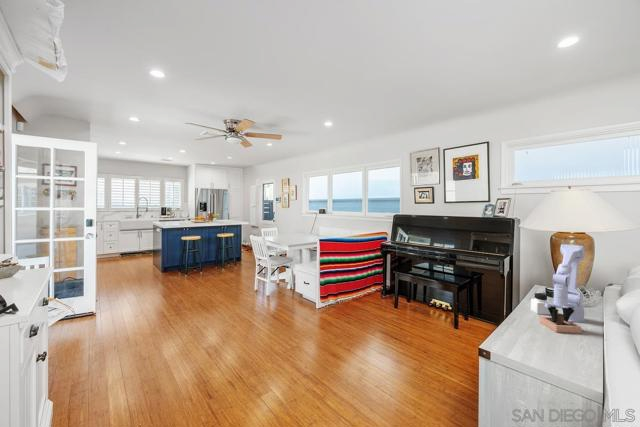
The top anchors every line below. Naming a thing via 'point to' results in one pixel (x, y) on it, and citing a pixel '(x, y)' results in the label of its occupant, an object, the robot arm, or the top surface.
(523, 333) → the top surface
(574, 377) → the top surface
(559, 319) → the wick peg
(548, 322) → the orange square tray
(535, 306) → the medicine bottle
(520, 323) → the top surface
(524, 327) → the top surface
